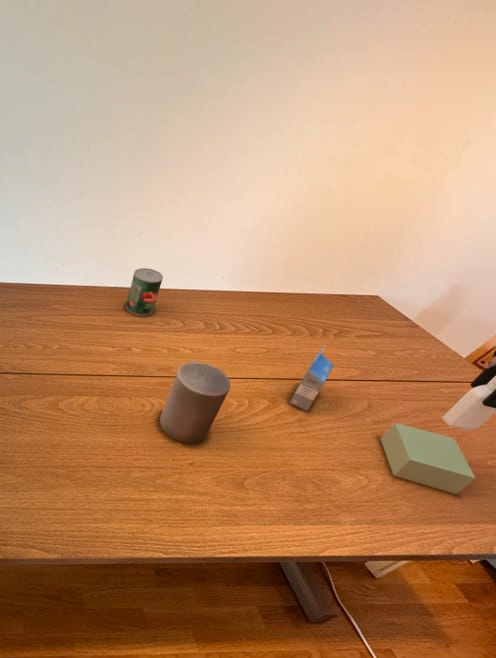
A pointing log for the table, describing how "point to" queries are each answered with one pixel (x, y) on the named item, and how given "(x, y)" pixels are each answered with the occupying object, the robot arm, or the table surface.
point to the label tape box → (312, 382)
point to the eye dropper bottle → (471, 408)
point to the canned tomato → (144, 291)
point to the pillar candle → (194, 402)
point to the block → (426, 458)
